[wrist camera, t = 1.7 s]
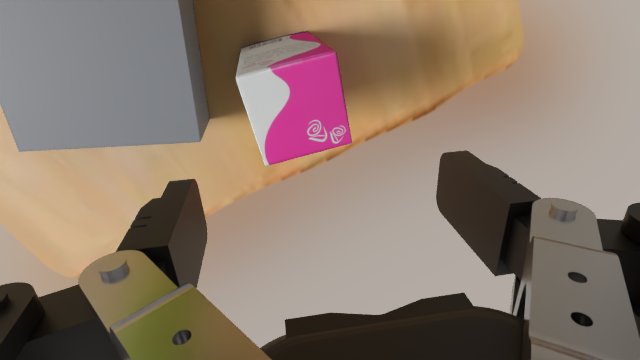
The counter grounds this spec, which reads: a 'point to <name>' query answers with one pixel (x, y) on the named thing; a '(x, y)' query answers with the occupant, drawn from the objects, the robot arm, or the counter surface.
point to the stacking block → (101, 73)
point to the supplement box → (293, 96)
